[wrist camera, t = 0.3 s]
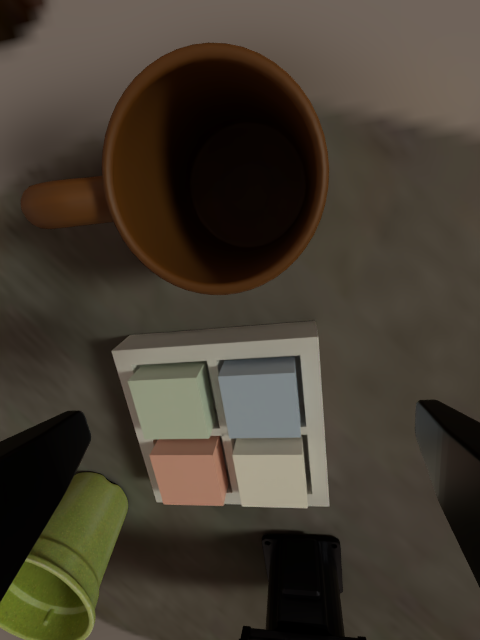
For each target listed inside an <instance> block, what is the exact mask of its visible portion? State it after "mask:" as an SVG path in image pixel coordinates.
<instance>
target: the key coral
mask: <svg viewBox="0 0 480 640" xmlns="http://www.w3.org/2000/svg"><path fill="white" fill-rule="evenodd" d="M149 456H150V459H151V463H152V466H153V470H154V473H155V477H156V480H157V483H158V487H159V490H160V494H161V497H162V501H163V504H169V505H206V506H224V501H225V497H226V492H227V488H228V483H229V482H228V476H227V471H226V466H225V461H224V456H223V451H222V446H221V441H220V436H210V438H209V439H158V440H157V442H156V444H155V446H154V448H153V449H152V451H151V453H150V455H149Z"/></svg>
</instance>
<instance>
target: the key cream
mask: <svg viewBox="0 0 480 640" xmlns="http://www.w3.org/2000/svg"><path fill="white" fill-rule="evenodd" d="M233 461H234V466H235V472H236V477H237V482H238V488H239V493H240V499H241V504H242V506H243V507H280V508H308V502H307V482H306V472H305V461H304V450H303V440H302V435H301V438H236V442H235V446H234V450H233Z"/></svg>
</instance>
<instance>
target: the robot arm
mask: <svg viewBox="0 0 480 640" xmlns="http://www.w3.org/2000/svg"><path fill="white" fill-rule="evenodd" d="M415 433H416V438H417V442H418V444H419V447H420V450H421V453H422V456H423V459H424V462H425V464H426V467H427V470H428V473H429V476H430V479H431V482H432V485H433V487H434V490H435V493H436V496H437V498H438V501H439V503H440V505H441V508H442V510H443V512H444V514H445V516H446V518H447V520H448V522H449V524H450V527H451V529H452V531H453V533H454V535H455V537H456V539H457V541H458V543H459V545H460V547H461V549H462V552H463V554H464V556H465V558H466V560H467V562H468V564H469V566H470V568H471V570H472V572H473V575H474V577H475V579H476V581H477V583H478V585H479V587H480V422H478V421H476V420H474V419H472V418H470V417H468V416H466V415H464V414H463V413H461V412H459V411H457V410H455V409H453V408H451V407H449V406H447V405H445V404H443V403H442V402H440V401H438V400H419V401H418V402H417V404H416V419H415ZM90 441H91V433H90V430H89V427H88V424H87V421H86V418H85V415H84V413H83V412H82V411H66V412H64V413H62V414H60V415H58V416H55V417H53V418H51V419H49V420H47V421H44V422H42V423H40V424H38V425H36V426H33V427H31V428H29V429H27V430H25V431H23V432H20V433H18V434H16V435H14V436H12V437H9V438H7V439H5V440H3V441H1V442H0V602H1V600H2V599H3V597H4V595H5V594H6V592H7V590H8V589H9V587H10V585H11V584H12V582H13V580H14V579H15V577H16V575H17V574H18V572H19V570H20V569H21V567H22V565H23V564H24V562H25V560H26V559H27V557H28V555H29V554H30V552H31V550H32V549H33V547H34V545H35V544H36V542H37V540H38V538H39V537H40V535H41V533H42V532H43V530H44V528H45V527H46V525H47V523H48V522H49V520H50V518H51V517H52V515H53V513H54V512H55V510H56V508H57V507H58V505H59V503H60V502H61V500H62V498H63V496H64V495H65V493H66V491H67V489H68V487H69V485H70V483H71V481H72V479H73V477H74V475H75V473H76V471H77V469H78V467H79V465H80V463H81V461H82V458H83V456H84V454H85V452H86V450H87V448H88V446H89V444H90ZM262 546H263V552H264V558H265V564H266V570H267V576H268V582H269V585H268V601H267V617H266V630H265V629H254V628H251V627H250V626H243V629H242V634H241V639H239V640H366V637H360V636H358V638H352V637H345V635H344V626H343V618H342V609H341V601H340V593H342V592H343V584H342V566H341V548H340V541H339V539H337V538H334V537H315V536H291V535H268V534H267V535H264V536H263V537H262Z"/></svg>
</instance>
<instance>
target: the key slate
mask: <svg viewBox="0 0 480 640" xmlns="http://www.w3.org/2000/svg"><path fill="white" fill-rule="evenodd" d="M218 380H219V385H220V391H221V396H222V401H223V407H224V412H225V418H226V423H227V428H228V434H229V438H301V422H300V408H299V397H298V387H297V376H296V366H295V356H292V357H275V358H258V359H241V360H224V363H223V365H222V368H221V370H220V373H219V375H218Z"/></svg>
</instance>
